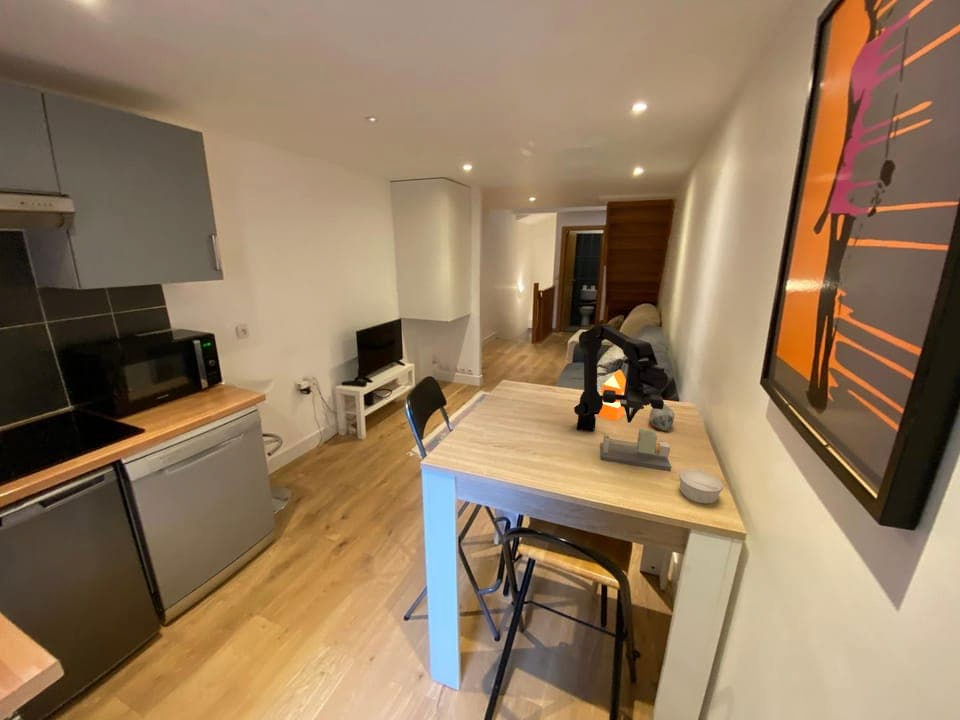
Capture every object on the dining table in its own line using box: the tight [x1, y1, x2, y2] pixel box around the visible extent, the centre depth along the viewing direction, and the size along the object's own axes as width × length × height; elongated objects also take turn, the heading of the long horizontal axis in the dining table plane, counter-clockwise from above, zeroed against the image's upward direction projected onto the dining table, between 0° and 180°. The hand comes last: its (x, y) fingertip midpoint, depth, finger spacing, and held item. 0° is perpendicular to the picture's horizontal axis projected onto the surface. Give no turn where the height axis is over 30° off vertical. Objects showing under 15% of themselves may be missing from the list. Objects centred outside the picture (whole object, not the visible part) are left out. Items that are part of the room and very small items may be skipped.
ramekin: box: [679, 468, 724, 505], centre depth 112 cm, size 11×11×5 cm
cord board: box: [599, 433, 672, 472], centre depth 130 cm, size 22×10×7 cm, turn 74°
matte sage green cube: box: [637, 428, 658, 454], centre depth 128 cm, size 5×5×6 cm
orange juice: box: [598, 369, 626, 422], centre depth 162 cm, size 8×9×20 cm
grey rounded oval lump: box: [648, 404, 675, 432], centre depth 155 cm, size 14×10×10 cm
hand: (628, 422), depth 129 cm, fingers closed
